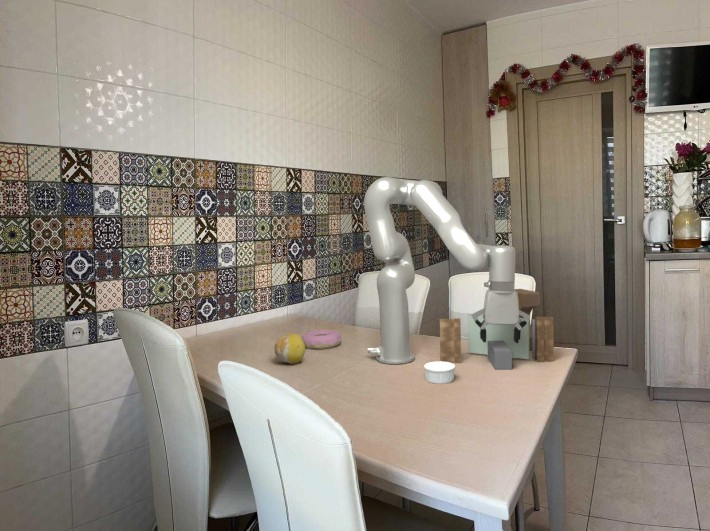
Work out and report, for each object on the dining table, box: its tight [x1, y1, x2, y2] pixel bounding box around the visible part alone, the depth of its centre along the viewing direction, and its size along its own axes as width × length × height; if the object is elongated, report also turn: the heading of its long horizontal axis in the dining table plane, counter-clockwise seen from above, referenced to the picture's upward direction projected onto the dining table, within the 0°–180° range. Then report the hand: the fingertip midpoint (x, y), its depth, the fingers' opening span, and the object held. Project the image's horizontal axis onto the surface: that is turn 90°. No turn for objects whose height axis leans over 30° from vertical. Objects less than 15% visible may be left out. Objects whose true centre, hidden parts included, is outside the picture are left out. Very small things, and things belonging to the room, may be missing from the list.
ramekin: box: [423, 360, 456, 385], centre depth 150 cm, size 9×9×4 cm
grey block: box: [487, 341, 513, 371], centre depth 164 cm, size 5×13×6 cm, turn 175°
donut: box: [300, 329, 342, 350], centre depth 196 cm, size 16×15×5 cm
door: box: [467, 313, 536, 361], centre depth 170 cm, size 22×3×13 cm, turn 58°
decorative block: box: [514, 288, 541, 352], centre depth 182 cm, size 11×6×20 cm, turn 17°
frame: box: [439, 316, 554, 364], centre depth 166 cm, size 35×2×14 cm, turn 85°
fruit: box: [274, 333, 306, 365], centre depth 173 cm, size 10×11×10 cm
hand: (499, 341), depth 159 cm, fingers open, 9 cm apart
